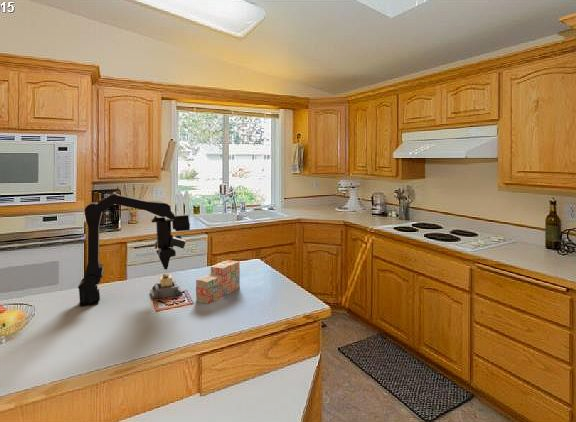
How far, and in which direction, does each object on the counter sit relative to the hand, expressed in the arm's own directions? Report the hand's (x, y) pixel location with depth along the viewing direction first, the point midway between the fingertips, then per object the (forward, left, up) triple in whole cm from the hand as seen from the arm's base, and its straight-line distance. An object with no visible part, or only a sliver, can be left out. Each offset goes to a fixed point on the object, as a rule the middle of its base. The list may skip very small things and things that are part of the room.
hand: (165, 268), depth 154 cm
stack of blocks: (+20, -10, -11) cm, 25 cm away
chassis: (0, 0, -11) cm, 11 cm away
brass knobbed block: (0, 0, -10) cm, 10 cm away
